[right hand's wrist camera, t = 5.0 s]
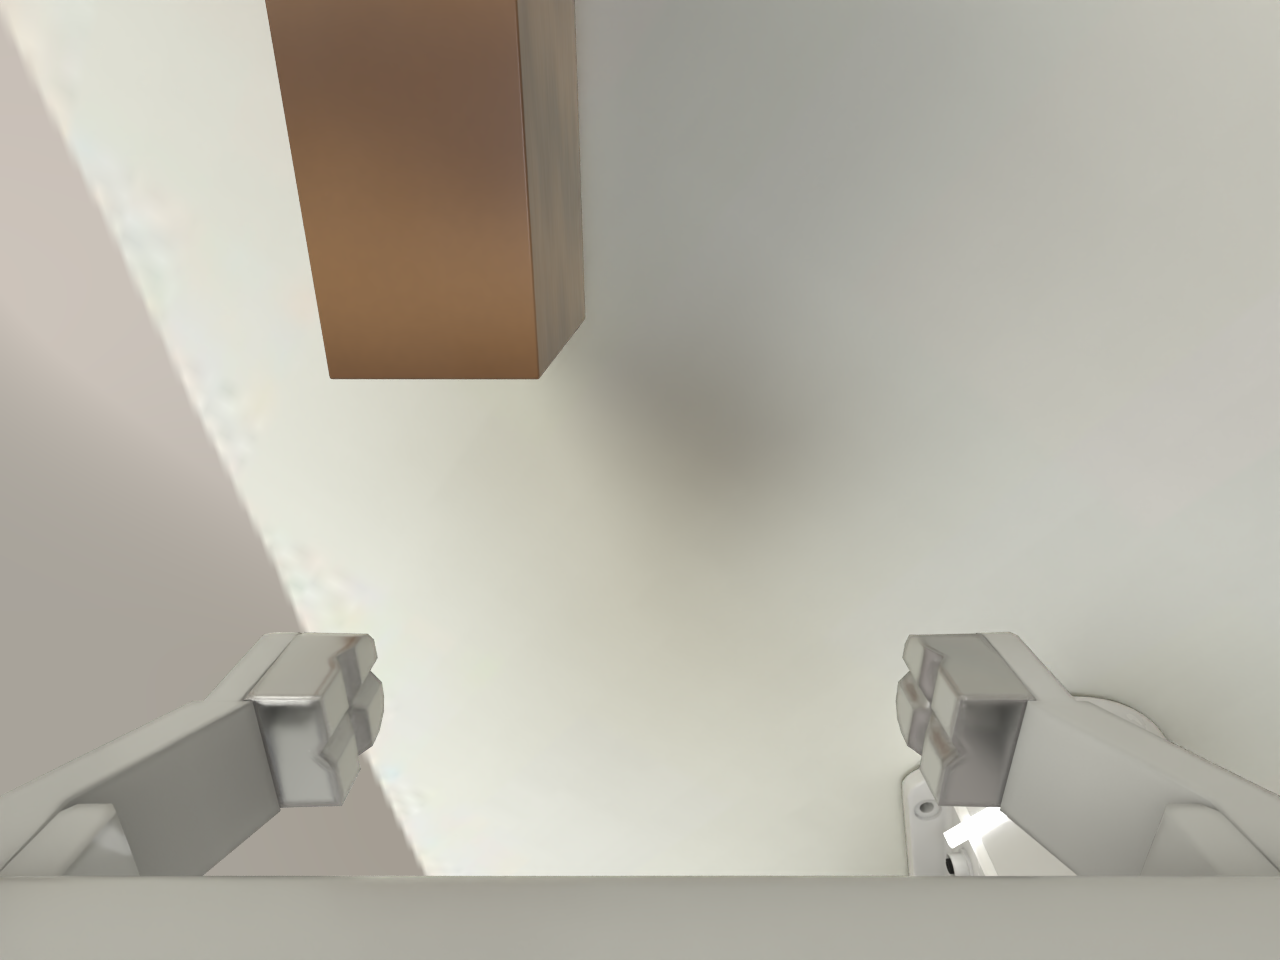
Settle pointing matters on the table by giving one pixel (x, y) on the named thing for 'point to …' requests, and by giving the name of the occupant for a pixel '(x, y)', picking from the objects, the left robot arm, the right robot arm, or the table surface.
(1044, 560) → the table surface
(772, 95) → the table surface
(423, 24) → the box
